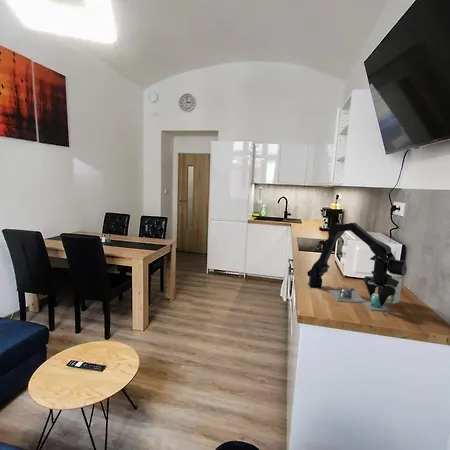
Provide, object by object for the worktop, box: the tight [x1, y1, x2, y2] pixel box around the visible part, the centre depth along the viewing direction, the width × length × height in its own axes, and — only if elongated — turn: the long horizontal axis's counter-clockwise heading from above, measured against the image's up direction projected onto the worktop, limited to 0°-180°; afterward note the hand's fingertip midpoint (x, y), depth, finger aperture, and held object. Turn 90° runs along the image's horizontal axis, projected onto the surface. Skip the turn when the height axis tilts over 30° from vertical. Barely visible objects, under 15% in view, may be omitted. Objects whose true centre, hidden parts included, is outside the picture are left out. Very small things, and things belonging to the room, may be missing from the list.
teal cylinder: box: [370, 292, 382, 308], centre depth 137 cm, size 5×5×6 cm
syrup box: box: [384, 272, 404, 305], centre depth 145 cm, size 6×6×14 cm
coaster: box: [362, 301, 392, 312], centre depth 138 cm, size 9×9×1 cm
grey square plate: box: [327, 286, 366, 304], centre depth 149 cm, size 14×14×5 cm
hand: (376, 301), depth 137 cm, fingers open, 9 cm apart
